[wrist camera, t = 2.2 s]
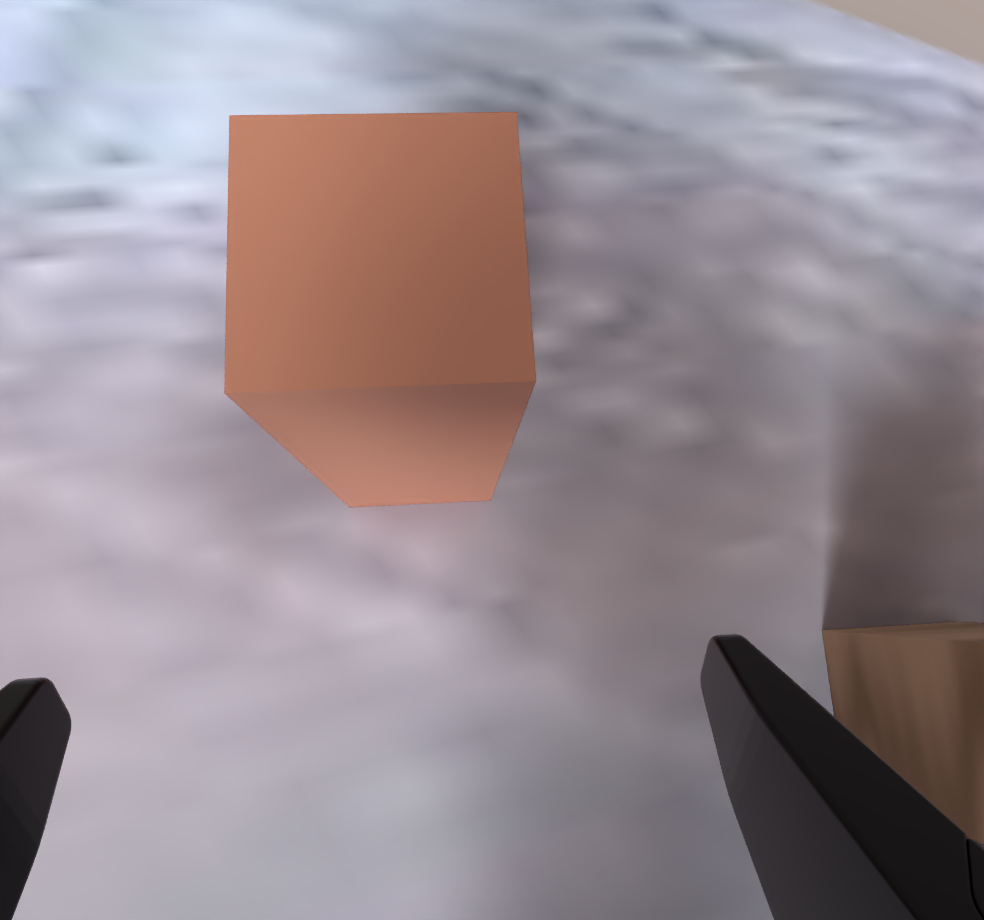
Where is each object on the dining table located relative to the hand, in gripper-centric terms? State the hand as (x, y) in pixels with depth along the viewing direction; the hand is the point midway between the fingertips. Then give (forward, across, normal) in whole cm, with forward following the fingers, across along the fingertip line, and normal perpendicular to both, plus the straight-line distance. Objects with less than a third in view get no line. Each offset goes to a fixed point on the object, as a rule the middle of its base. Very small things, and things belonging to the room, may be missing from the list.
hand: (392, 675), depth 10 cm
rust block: (+13, 0, +4) cm, 14 cm away
